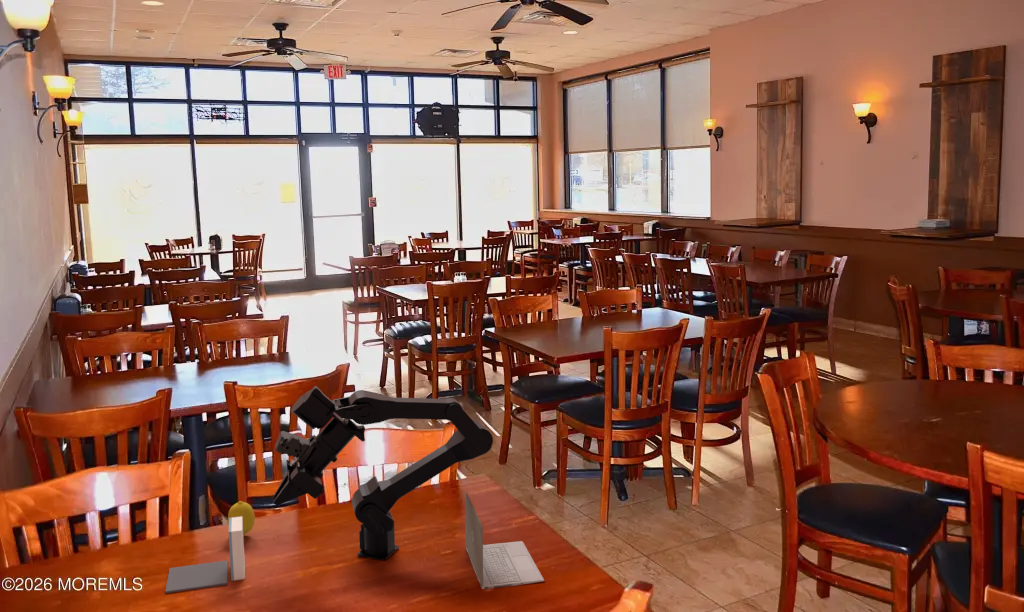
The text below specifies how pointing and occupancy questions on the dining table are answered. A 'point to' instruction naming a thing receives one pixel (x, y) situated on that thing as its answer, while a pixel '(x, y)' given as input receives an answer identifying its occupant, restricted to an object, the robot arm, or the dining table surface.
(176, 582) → the mat
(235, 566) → the white rectangular block
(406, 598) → the dining table surface
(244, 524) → the lemon
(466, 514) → the laptop
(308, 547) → the dining table surface
